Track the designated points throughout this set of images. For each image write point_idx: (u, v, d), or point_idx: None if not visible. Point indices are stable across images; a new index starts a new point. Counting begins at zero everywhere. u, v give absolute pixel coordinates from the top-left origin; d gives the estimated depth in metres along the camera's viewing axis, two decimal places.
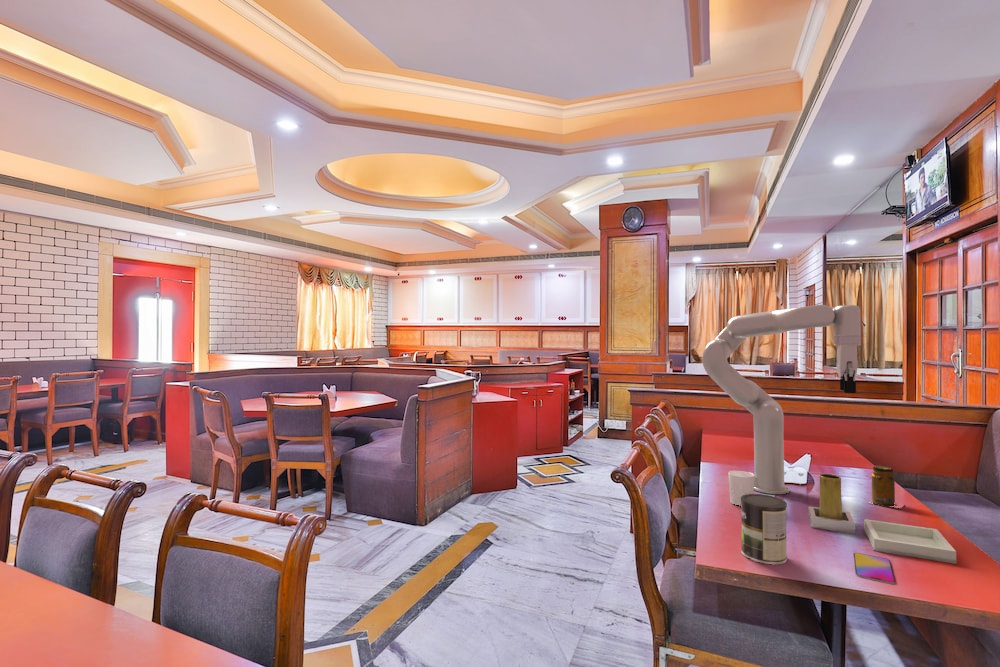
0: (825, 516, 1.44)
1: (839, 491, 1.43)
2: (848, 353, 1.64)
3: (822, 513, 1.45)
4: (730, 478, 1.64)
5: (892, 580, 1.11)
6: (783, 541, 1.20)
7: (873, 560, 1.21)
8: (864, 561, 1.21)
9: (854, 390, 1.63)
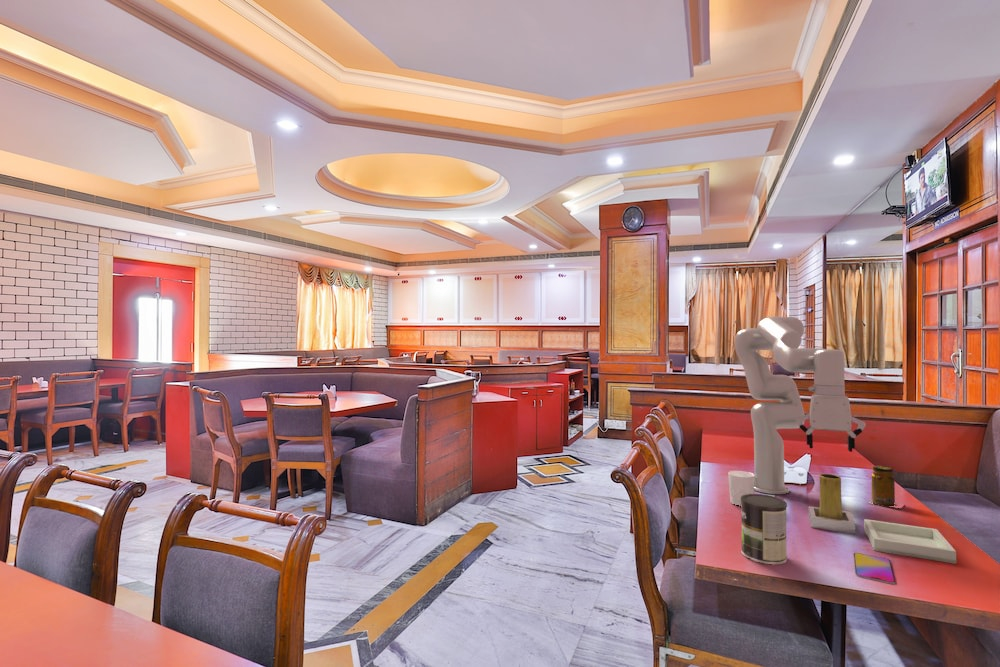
0: (825, 516, 1.44)
1: (839, 491, 1.43)
2: None
3: (822, 513, 1.45)
4: (730, 478, 1.64)
5: (892, 580, 1.11)
6: (783, 541, 1.20)
7: (873, 560, 1.21)
8: (864, 561, 1.21)
9: None
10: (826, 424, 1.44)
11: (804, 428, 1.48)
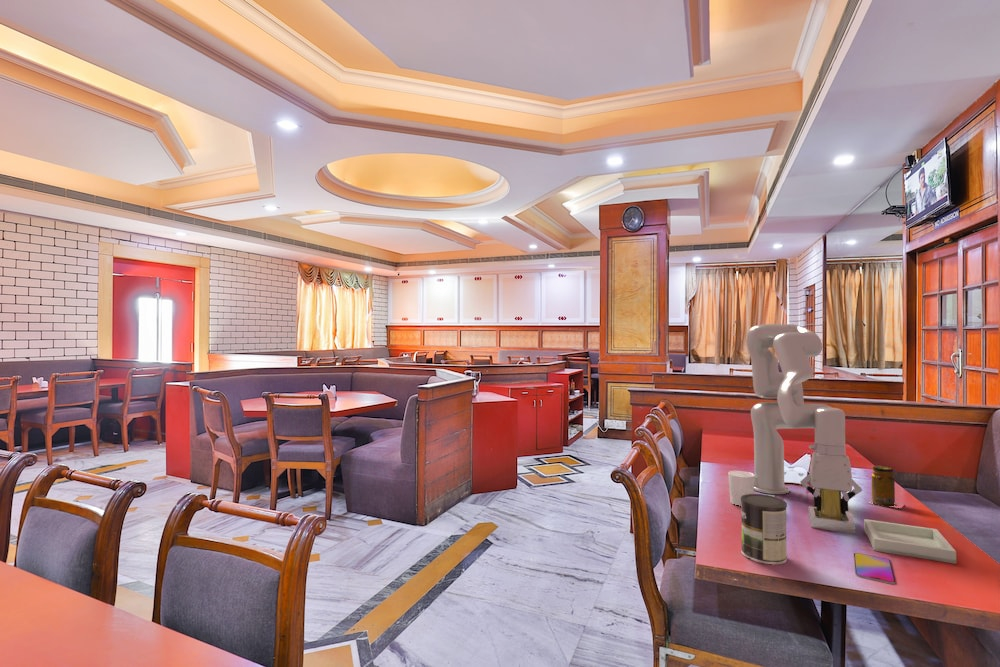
0: (825, 516, 1.44)
1: (839, 491, 1.43)
2: None
3: (822, 513, 1.45)
4: (730, 478, 1.64)
5: (892, 580, 1.11)
6: (783, 541, 1.20)
7: (873, 560, 1.21)
8: (864, 561, 1.21)
9: None
10: (827, 484, 1.43)
11: (811, 490, 1.47)
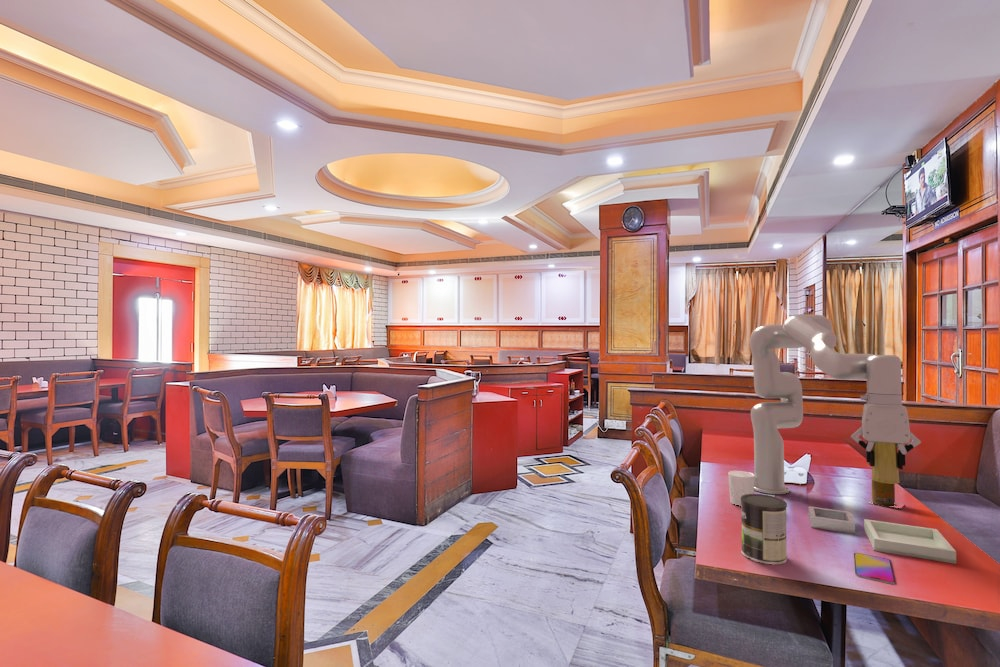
0: (879, 471, 1.33)
1: (895, 444, 1.32)
2: None
3: (876, 468, 1.34)
4: (730, 478, 1.64)
5: (892, 580, 1.11)
6: (783, 541, 1.20)
7: (873, 560, 1.21)
8: (864, 561, 1.21)
9: None
10: (881, 436, 1.33)
11: (864, 444, 1.36)
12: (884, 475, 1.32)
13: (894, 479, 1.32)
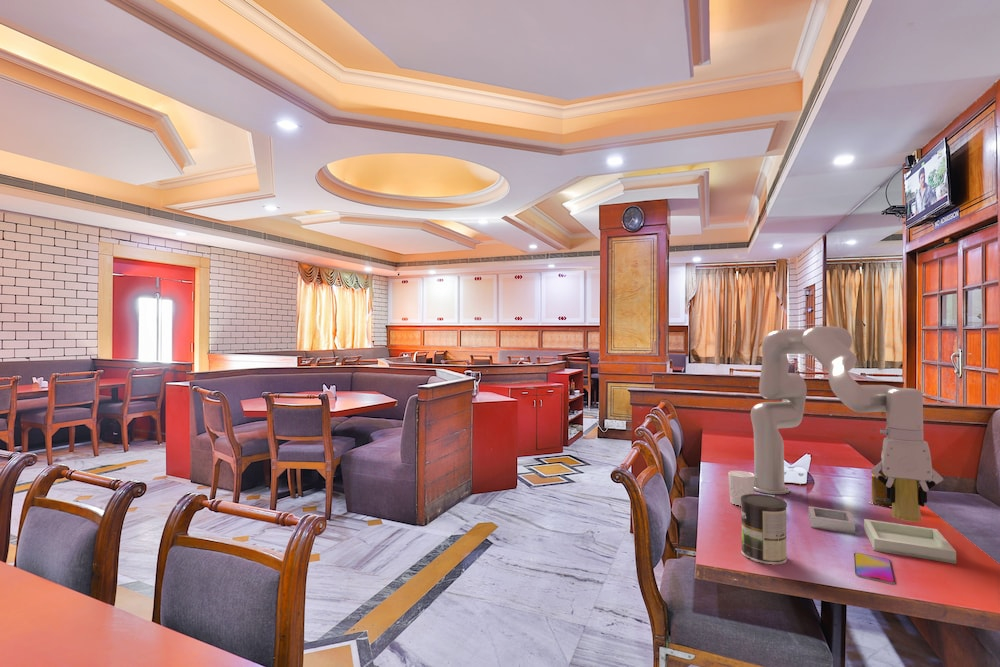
0: (900, 508, 1.29)
1: (916, 480, 1.28)
2: None
3: (896, 505, 1.30)
4: (730, 478, 1.64)
5: (892, 580, 1.11)
6: (783, 541, 1.20)
7: (873, 560, 1.21)
8: (864, 561, 1.21)
9: None
10: (902, 472, 1.29)
11: (884, 480, 1.32)
12: (905, 512, 1.29)
13: (916, 517, 1.28)
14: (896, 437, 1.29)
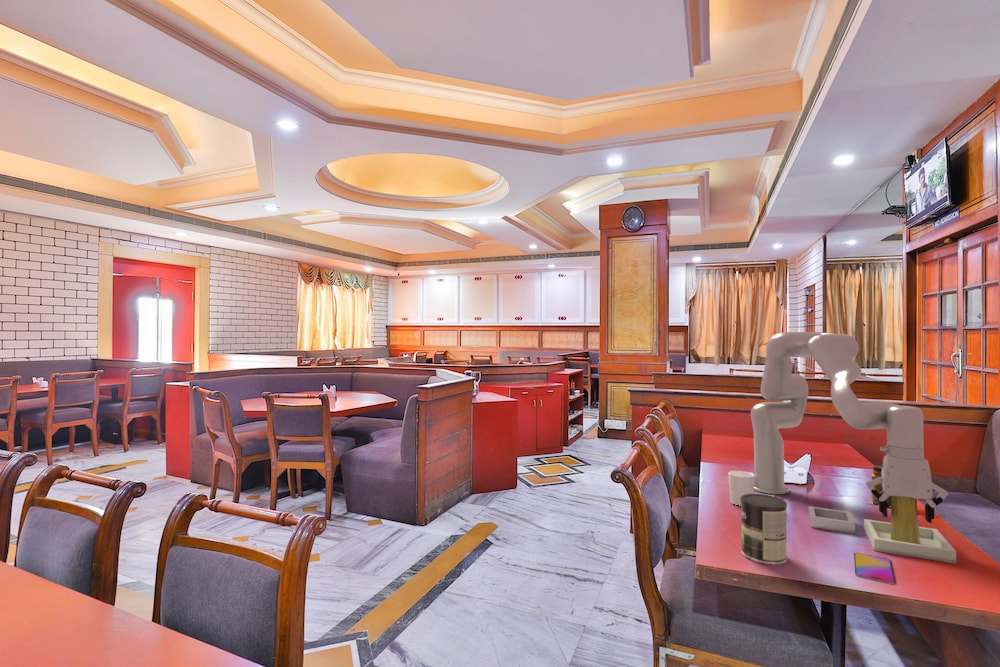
0: (899, 532, 1.30)
1: (915, 504, 1.29)
2: None
3: (895, 528, 1.31)
4: (730, 478, 1.64)
5: (891, 580, 1.11)
6: (783, 541, 1.20)
7: (873, 560, 1.21)
8: (864, 561, 1.21)
9: None
10: (903, 491, 1.29)
11: (877, 494, 1.33)
12: (904, 536, 1.29)
13: (915, 541, 1.28)
14: (896, 455, 1.29)
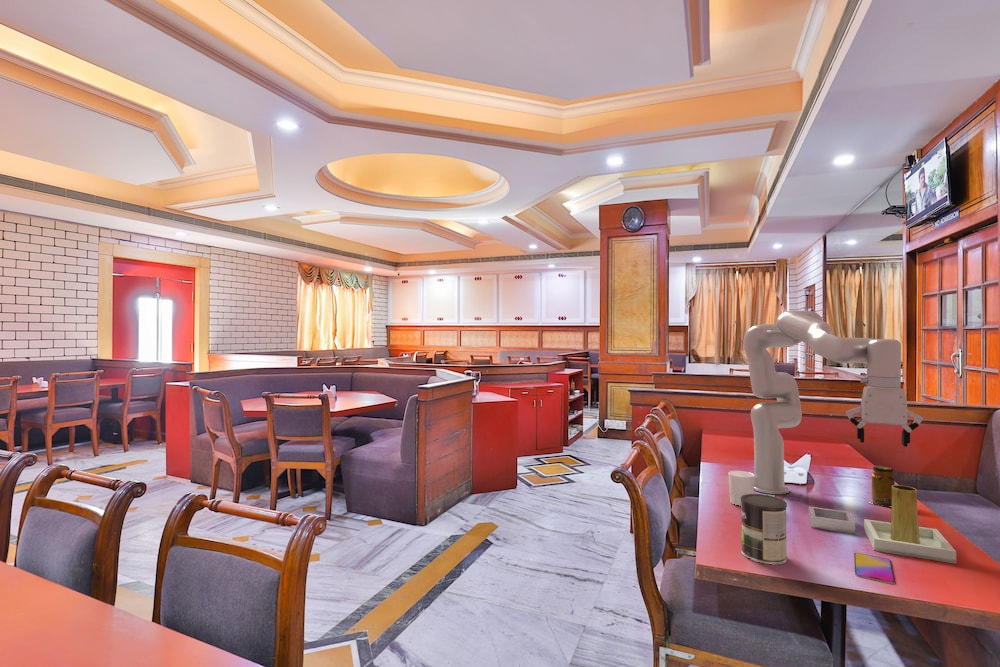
0: (899, 532, 1.30)
1: (915, 504, 1.29)
2: None
3: (895, 529, 1.31)
4: (730, 478, 1.64)
5: (891, 580, 1.11)
6: (783, 541, 1.20)
7: (873, 560, 1.21)
8: (864, 561, 1.21)
9: None
10: (880, 417, 1.37)
11: (855, 421, 1.41)
12: (904, 537, 1.29)
13: (915, 541, 1.28)
14: (875, 385, 1.37)
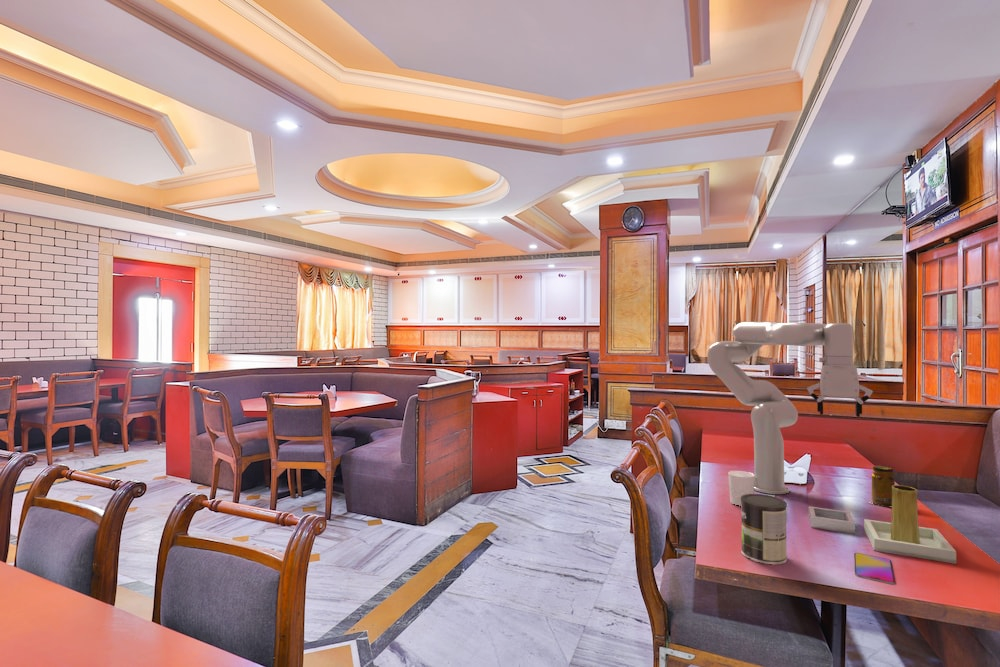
0: (899, 532, 1.30)
1: (915, 505, 1.29)
2: None
3: (895, 529, 1.30)
4: (730, 478, 1.64)
5: (891, 580, 1.11)
6: (783, 541, 1.20)
7: (873, 560, 1.21)
8: (864, 561, 1.21)
9: None
10: (836, 392, 1.56)
11: (815, 396, 1.60)
12: (904, 537, 1.29)
13: (915, 541, 1.28)
14: (831, 363, 1.57)
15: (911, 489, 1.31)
